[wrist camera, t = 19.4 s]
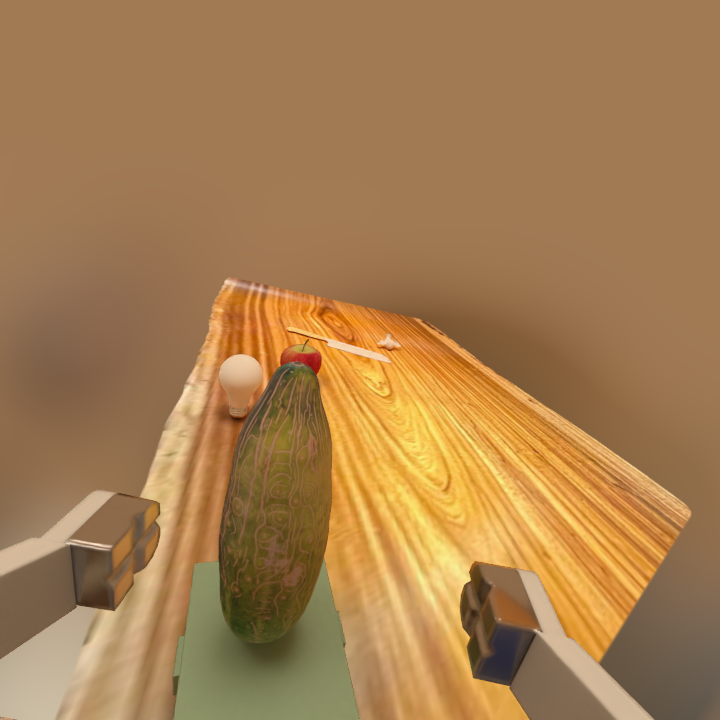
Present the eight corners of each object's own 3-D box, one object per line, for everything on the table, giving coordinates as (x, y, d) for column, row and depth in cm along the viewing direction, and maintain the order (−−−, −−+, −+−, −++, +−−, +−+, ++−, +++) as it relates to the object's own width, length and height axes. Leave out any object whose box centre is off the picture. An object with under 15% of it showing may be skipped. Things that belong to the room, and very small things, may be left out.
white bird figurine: (377, 348, 106) (379, 332, 106) (373, 348, 111) (374, 332, 111) (403, 351, 108) (405, 335, 108) (398, 351, 113) (399, 335, 113)
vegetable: (324, 626, 27) (381, 375, 20) (262, 715, 21) (308, 416, 14) (262, 577, 29) (292, 340, 22) (193, 647, 24) (203, 364, 17)
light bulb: (251, 404, 66) (256, 347, 62) (264, 424, 61) (270, 363, 57) (212, 409, 62) (215, 348, 58) (222, 430, 57) (226, 365, 53)
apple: (288, 391, 73) (294, 344, 69) (272, 373, 79) (277, 329, 76) (324, 387, 78) (332, 343, 74) (306, 371, 84) (312, 329, 80)
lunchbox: (349, 782, 24) (368, 725, 22) (156, 844, 20) (155, 783, 18) (316, 599, 35) (327, 549, 33) (187, 619, 31) (188, 563, 29)
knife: (390, 363, 97) (395, 357, 101) (281, 328, 106) (290, 323, 110) (389, 368, 98) (394, 361, 102) (281, 332, 107) (290, 327, 111)
